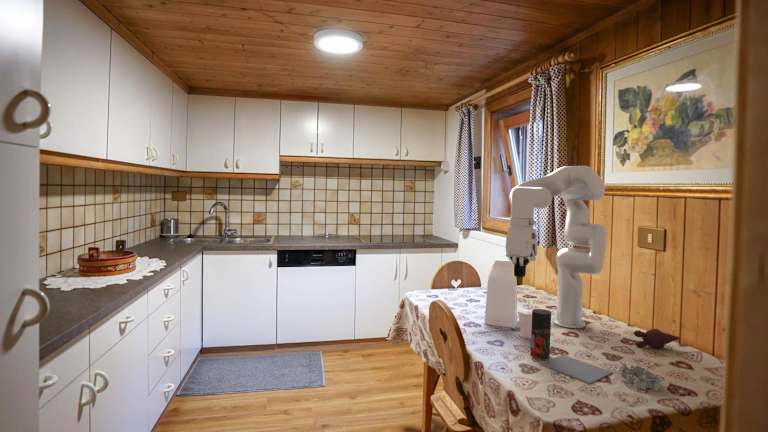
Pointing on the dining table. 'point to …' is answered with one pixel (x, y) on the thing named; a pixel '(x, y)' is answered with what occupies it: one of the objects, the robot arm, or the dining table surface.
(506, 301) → the milk
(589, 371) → the felt mat
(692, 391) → the dining table surface
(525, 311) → the smoothie
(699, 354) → the dining table surface
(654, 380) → the egg carton
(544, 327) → the deodorant
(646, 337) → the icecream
